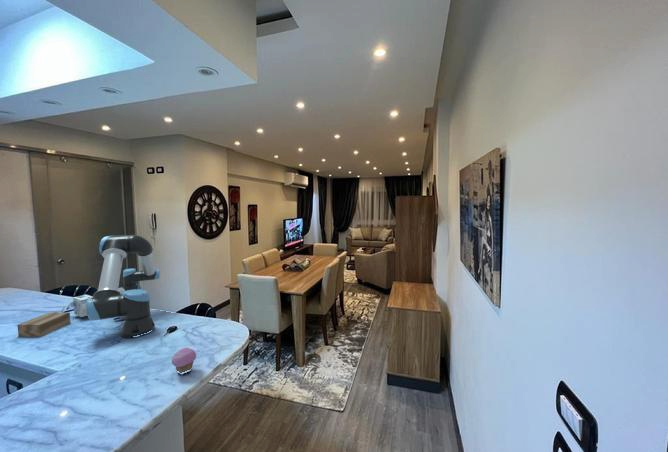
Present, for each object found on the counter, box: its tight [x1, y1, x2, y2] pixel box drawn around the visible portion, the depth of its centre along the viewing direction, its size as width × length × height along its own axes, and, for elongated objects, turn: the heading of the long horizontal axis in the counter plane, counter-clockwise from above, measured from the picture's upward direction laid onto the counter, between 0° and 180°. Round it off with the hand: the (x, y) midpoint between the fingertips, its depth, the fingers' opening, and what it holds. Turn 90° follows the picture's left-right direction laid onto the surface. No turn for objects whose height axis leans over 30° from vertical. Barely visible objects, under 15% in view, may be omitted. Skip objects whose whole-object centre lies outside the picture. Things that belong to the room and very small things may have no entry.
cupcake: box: [171, 347, 197, 373], centre depth 111 cm, size 9×9×10 cm
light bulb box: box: [72, 294, 93, 318], centre depth 166 cm, size 11×7×11 cm, turn 62°
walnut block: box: [17, 312, 71, 338], centre depth 149 cm, size 12×16×7 cm
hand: (76, 305), depth 162 cm, fingers closed on light bulb box, 11 cm apart
